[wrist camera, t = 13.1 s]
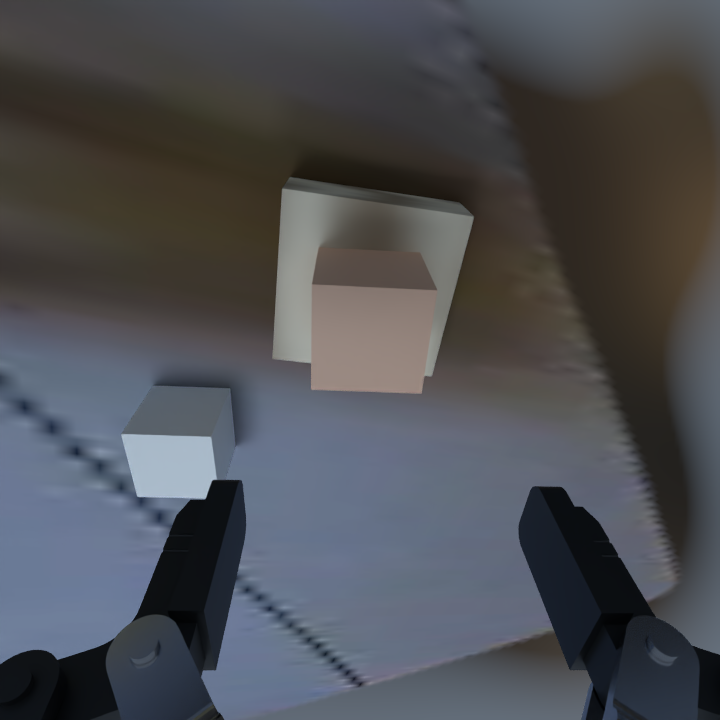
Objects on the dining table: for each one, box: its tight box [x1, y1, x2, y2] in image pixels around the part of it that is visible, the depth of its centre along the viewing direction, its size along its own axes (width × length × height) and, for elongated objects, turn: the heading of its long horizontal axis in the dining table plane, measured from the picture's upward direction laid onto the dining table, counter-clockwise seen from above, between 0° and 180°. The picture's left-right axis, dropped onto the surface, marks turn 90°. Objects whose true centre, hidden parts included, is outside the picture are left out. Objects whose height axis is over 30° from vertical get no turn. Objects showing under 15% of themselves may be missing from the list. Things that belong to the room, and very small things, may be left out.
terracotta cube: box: [311, 247, 437, 394], centre depth 24 cm, size 6×6×6 cm
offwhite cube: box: [121, 385, 236, 498], centre depth 32 cm, size 6×6×6 cm
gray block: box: [273, 177, 474, 376], centre depth 28 cm, size 10×10×4 cm
